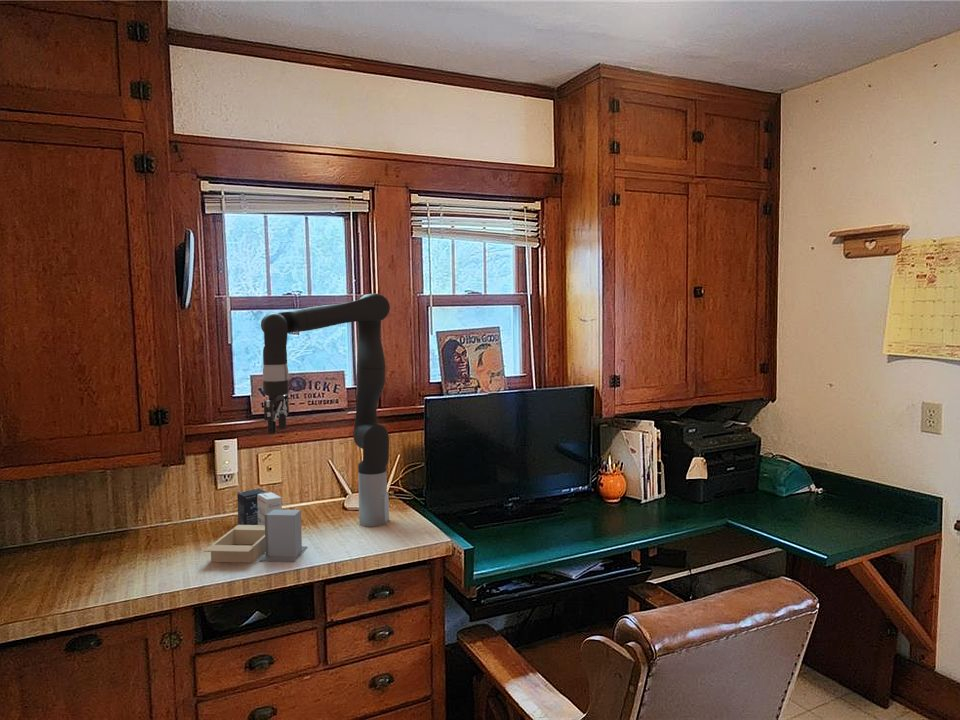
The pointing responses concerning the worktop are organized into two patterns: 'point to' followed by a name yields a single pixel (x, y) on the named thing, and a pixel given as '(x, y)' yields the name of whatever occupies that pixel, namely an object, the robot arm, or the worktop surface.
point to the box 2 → (283, 533)
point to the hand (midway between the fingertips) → (277, 431)
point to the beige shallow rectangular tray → (239, 535)
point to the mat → (281, 557)
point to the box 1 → (248, 507)
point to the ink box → (267, 505)
